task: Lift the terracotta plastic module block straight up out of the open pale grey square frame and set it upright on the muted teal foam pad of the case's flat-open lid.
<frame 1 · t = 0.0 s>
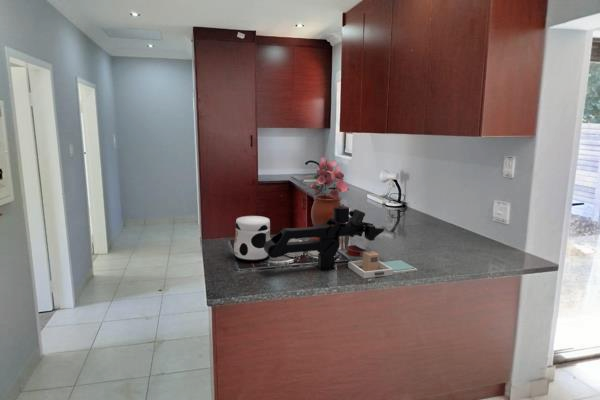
hand: (378, 227, 183), 17 cm above the worktop, tool horizontal, fingers open, 9 cm apart
potted flower: (325, 241, 217), on the worktop
pale grey square frame: (370, 270, 175), on the worktop
module block: (370, 271, 175), resting in pale grey square frame
case lid: (397, 267, 180), on the worktop
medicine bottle: (292, 255, 193), on the worktop
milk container: (252, 257, 188), on the worktop
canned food: (356, 254, 198), on the worktop
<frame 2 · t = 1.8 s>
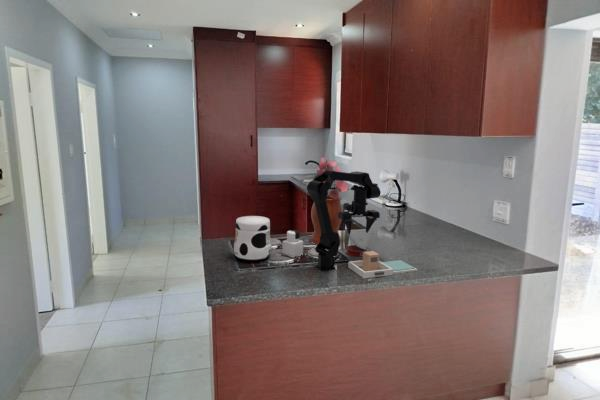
hand: (358, 233, 186), 13 cm above the worktop, tool pointing down, fingers open, 9 cm apart
nothing on the worktop moved.
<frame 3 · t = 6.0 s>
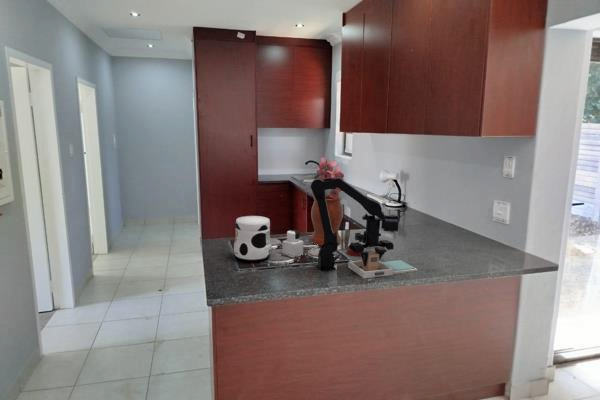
hand: (370, 265, 175), 3 cm above the worktop, tool pointing down, fingers closed on module block, 5 cm apart
module block: (370, 270, 175), resting in pale grey square frame, touching gripper
everything else where it was.
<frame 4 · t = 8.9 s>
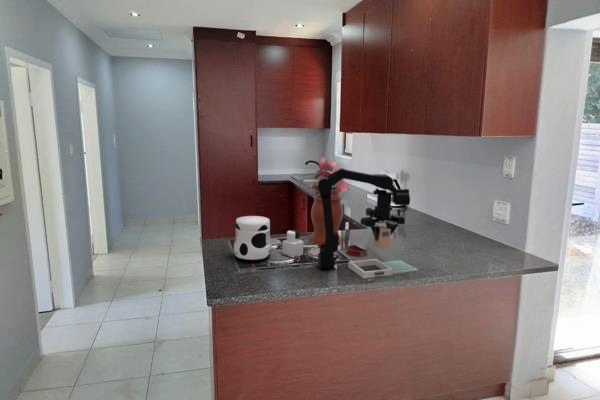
hand: (381, 240, 174), 13 cm above the worktop, tool pointing down, fingers closed on module block, 5 cm apart
module block: (381, 245, 175), point 11 cm above the worktop, touching gripper
everything else where it was.
when the fingers open (5 cm above the worktop, at t = 11.8 s): module block drops 1 cm, resting on case lid.
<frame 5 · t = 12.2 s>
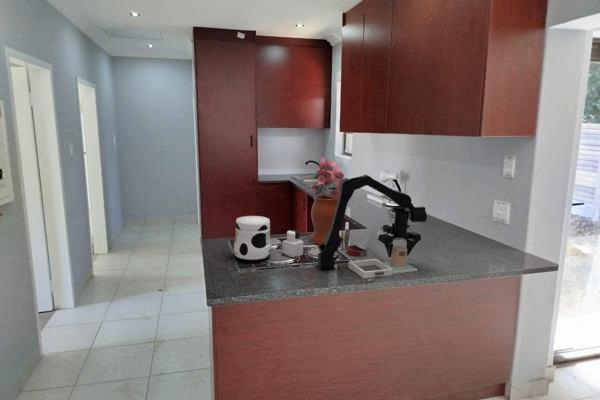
hand: (398, 256, 179), 5 cm above the worktop, tool pointing down, fingers open, 9 cm apart
module block: (397, 265, 180), point 1 cm above the worktop, touching case lid
everything else where it was.
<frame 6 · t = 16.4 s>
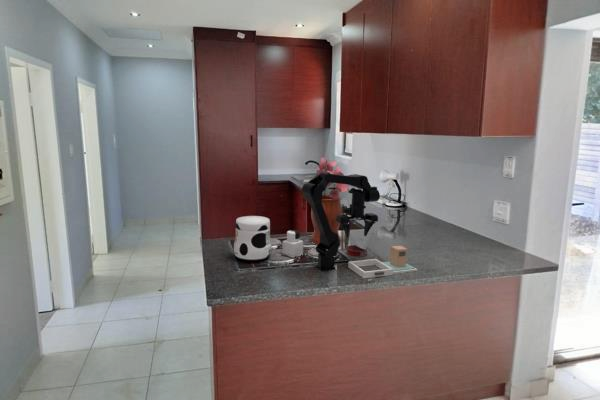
hand: (356, 236, 183), 12 cm above the worktop, tool pointing down, fingers open, 9 cm apart
nothing on the worktop moved.
at the end: module block inside the target area on the case lid (0.1 cm from its centre), point 1.3 cm above the case lid's base; module block tilted 0°; the gripper is holding nothing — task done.
